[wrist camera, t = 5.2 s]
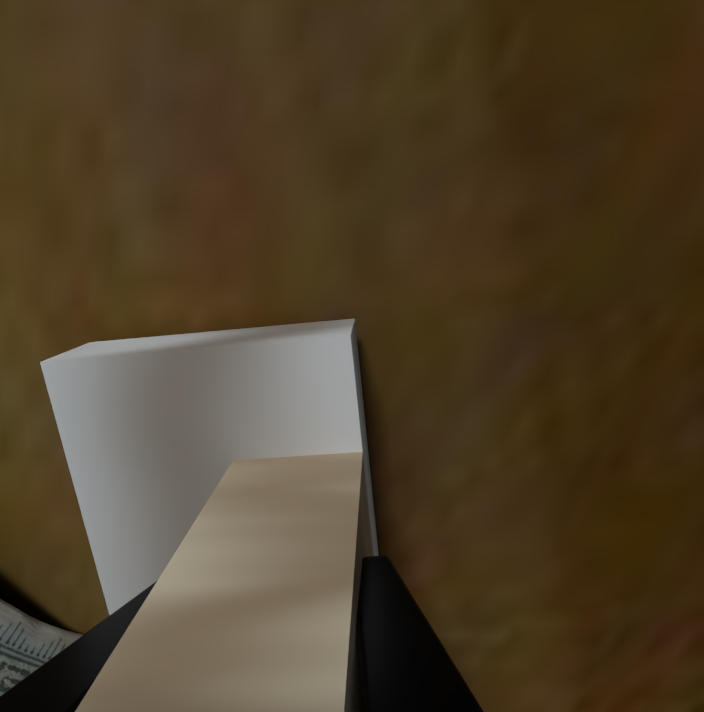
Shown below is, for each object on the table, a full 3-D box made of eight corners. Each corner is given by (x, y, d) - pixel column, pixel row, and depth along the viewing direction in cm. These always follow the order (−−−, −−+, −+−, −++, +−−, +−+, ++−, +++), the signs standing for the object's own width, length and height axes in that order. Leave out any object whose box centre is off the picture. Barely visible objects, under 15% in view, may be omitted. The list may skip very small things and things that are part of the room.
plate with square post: (354, 318, 10) (236, 764, 2) (383, 599, 12) (394, 1501, 3) (90, 342, 10) (-1044, 788, 2) (155, 608, 12) (-325, 1427, 4)
